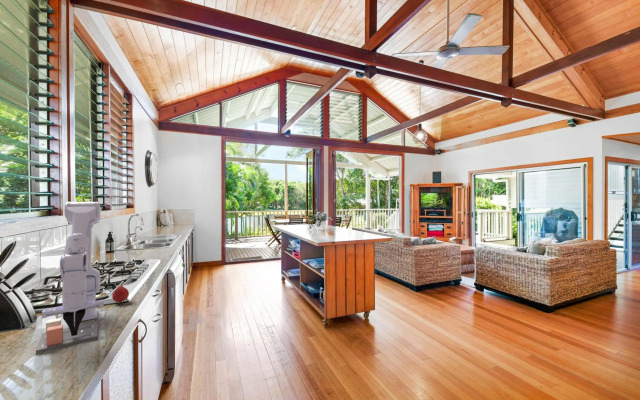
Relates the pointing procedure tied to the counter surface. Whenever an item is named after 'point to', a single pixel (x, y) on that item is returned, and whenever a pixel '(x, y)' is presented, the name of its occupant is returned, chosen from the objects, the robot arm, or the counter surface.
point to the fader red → (54, 335)
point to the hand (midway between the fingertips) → (74, 334)
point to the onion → (120, 294)
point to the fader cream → (52, 323)
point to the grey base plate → (70, 338)
